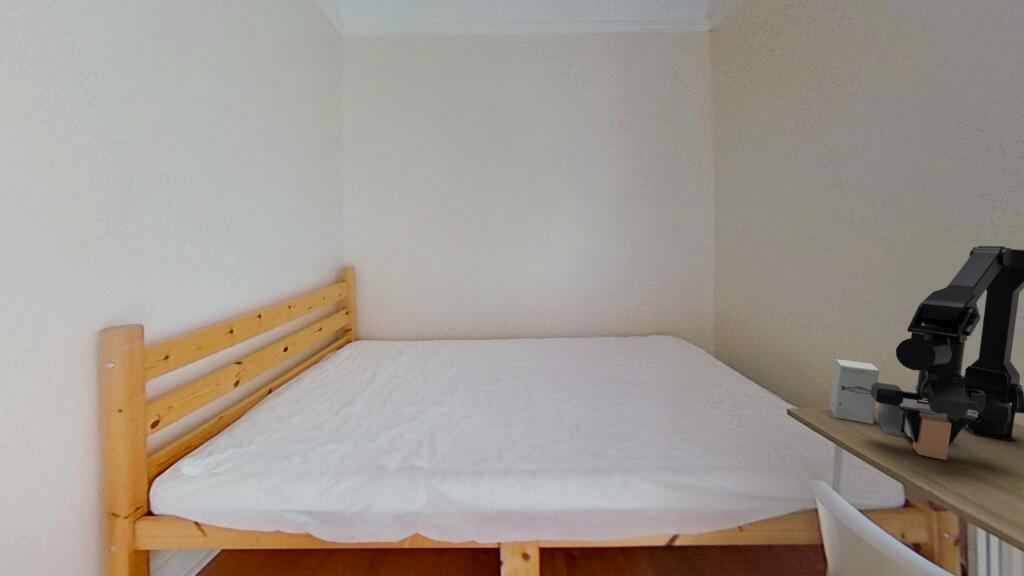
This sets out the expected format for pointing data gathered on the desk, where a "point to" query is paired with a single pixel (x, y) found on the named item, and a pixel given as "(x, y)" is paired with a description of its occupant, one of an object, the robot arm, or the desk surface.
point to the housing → (898, 417)
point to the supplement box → (853, 390)
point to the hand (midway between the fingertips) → (930, 444)
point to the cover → (931, 435)
